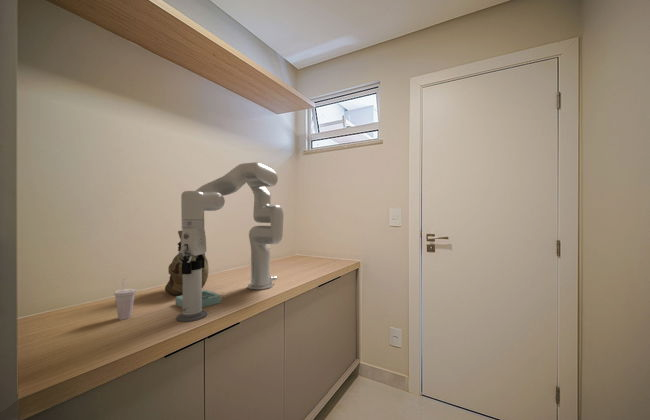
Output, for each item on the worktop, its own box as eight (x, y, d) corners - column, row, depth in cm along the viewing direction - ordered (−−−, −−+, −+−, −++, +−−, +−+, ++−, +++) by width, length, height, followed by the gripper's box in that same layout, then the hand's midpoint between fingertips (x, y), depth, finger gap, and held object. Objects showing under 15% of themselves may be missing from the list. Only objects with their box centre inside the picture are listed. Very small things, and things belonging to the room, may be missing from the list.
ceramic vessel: (159, 300, 113) (160, 231, 114) (168, 288, 132) (169, 229, 133) (207, 295, 120) (207, 230, 121) (209, 284, 140) (209, 228, 140)
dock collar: (206, 296, 118) (206, 287, 118) (221, 302, 109) (221, 292, 110) (175, 304, 108) (175, 294, 108) (189, 311, 99) (189, 300, 100)
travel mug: (182, 319, 90) (182, 262, 90) (182, 313, 95) (183, 259, 96) (202, 316, 92) (202, 260, 93) (201, 310, 98) (201, 257, 99)
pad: (200, 309, 101) (200, 307, 101) (212, 315, 95) (212, 313, 95) (172, 317, 93) (172, 315, 94) (183, 324, 87) (183, 322, 87)
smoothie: (117, 315, 95) (117, 277, 95) (138, 313, 98) (138, 276, 98) (110, 322, 89) (111, 281, 90) (133, 319, 92) (133, 279, 92)
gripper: (191, 225, 86) (191, 276, 86) (213, 223, 104) (214, 265, 104) (168, 226, 86) (169, 277, 86) (194, 223, 104) (195, 266, 104)
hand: (193, 270), depth 95 cm, fingers open, 9 cm apart
